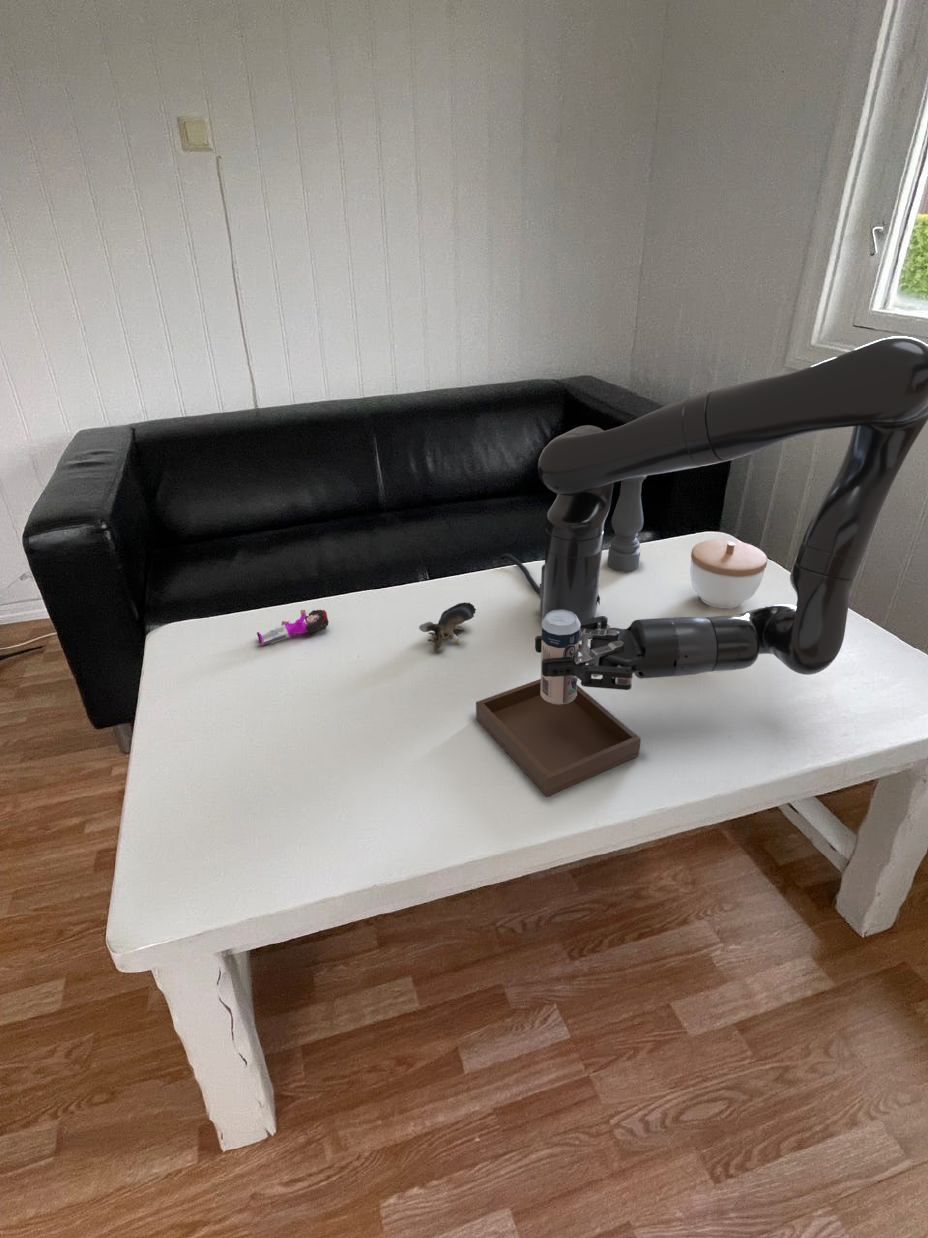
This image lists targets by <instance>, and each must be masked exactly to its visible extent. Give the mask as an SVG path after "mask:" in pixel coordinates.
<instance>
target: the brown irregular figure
mask: <svg viewBox="0 0 928 1238" xmlns="http://www.w3.org/2000/svg"><path fill="white" fill-rule="evenodd" d="M476 611H477V608H476V607H475V605H473V603H471V602H466V601H465V602H459V603H456V604H455V605H452V606H451V607H449V608H447V609H446V610H444V611H443V612H442V613H441V616H440V617H439V620H438V622H437V623H433V622H432V621H426V622H424V623H422V624H420V625H419V626H418V629H419V630H420V631H421V632H423V633H427V634H428V635H431V636H432V637H433V639H432V638H429V639H427V642H428V643H429V642H431V643H433V644H434V648H433V652H434V653H435V652H437V651H438V650H439V649H441V647H442V644H443V642H445V641H449V640H451V641H452V642H455V643H456V644H458V645H459V646H460V644H461V642H460V638H459V637H458V636H457V635H456V634H455V632H454V631H455V630H458V631H459V630H461V631H465V630H466V629H465V627H463V626H460V625H462V624H463V623H464V622H467V621H470V620H471V619H473V618H474V616H475V613H476Z"/></svg>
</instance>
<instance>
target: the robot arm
mask: <svg viewBox="0 0 928 1238" xmlns="http://www.w3.org/2000/svg"><path fill="white" fill-rule="evenodd" d="M927 423H928V344H926V343H925V342H923V341H921V340H919V339H916V338H913V337H908V336H891V337H887V338H882V339H879V340H875V341H873V342H870V343H868V344H865V345H862V346H860V347H858V348H855V349H853V350H849V351H847V352H845V353H842V354H840V355H838V356H834V357H832V358H829V359H827V360H824V361H822V362H819V363H816V364H814V365H810V366H809V367H806V368H805V367H804V368H802V369H800V370H796V371H794V372H790V373H785V374H781V375H776V376H771V377H766V378H761V379H756V380H751V381H747V382H742V383H739V384H735V385H731V386H726V387H722V388H718V389H714V390H711V391H707V392H704V393H700V394H697V395H694V396H690V397H687V398H684V399H681V400H678V401H675V402H672V403H670V404H668V405H665V406H662V407H660V408H658V409H656V410H653V411H651V412H648V413H646V414H644V415H642V416H640V417H638V418H636V419H633V420H631V421H629V422H627V423H625V424H623V425H620V426H616V427H614V428H610V429H607V430H604V429H602V428H601V427H598V426H595V425H589V424H587V425H586V424H585V425H581V426H577V427H575V428H573V429H571V430H569V431H567V432H565V433H563V434H560V435H558V436H556V437H555V438H553V439H552V440H551V441H549V442H548V444H547V445H546V446H545V447H544V448H543V450H542V452H541V453H540V455H539V458H538V462H537V473H538V477H539V479H540V481H541V483H542V484H543V485H544V486H545V487H546V488H547V489H548V490H550V491H551V492H552V493H555V494H556V498H555V499H554V501H553V503H552V505H551V506H550V508H549V509H548V511H547V514H546V521H545V523H546V524H545V526H546V527H545V549H544V551H545V552H544V564H542V566H541V573H540V574H541V575H540V577H541V578H540V581H541V582H540V583H539V585H538V584H537V582H536V581H535V579H534V578H533V577H532V575H531V573H530V571H529V569H528V568H527V567H526V566H525V565H524V564H523V563H522V562H521V561H520V560H519V559H518V558H516V557H514V555H512V554H510V553H503V554H501V555H499V557H498V559H500V560H504V559H507V560H510V561H511V562H512V563H513V564H515V566H516V567H518V568H519V569H520V570H521V571H522V572H523V574H524V576H525V578H526V579H527V581H528V583H529V584H530V586H531V587H532V588H533V590H534V591H535V592H536V593H538V595H539V599H540V603H539V604H540V605H539V614H540V615H541V622H542V621H543V619H544V618H545V616H546V614H547V613H549V612H551V611H553V610H567V611H571V612H573V613H574V614H575V615H576V616H577V618H578V620H579V621H580V624H581V626H580V634H579V642H581V643H579V652H578V653H580V654H581V655H578V657H575V658H574V660H573V659H572V657H564V658H549V659H543V660H542V669H541V668H540V672H541V671H542V674H543V676H545V677H548V676H550V677H558V676H573V677H574V678H577V680H580V685H581V687H585V688H597V689H609V690H610V689H611V690H620V691H621V690H622V691H623V690H624V691H629V690H631V689H632V685H633V676H635V677H636V678H638V679H641V680H642V679H643V680H644V679H657V678H670V677H671V678H672V677H684V676H685V677H687V676H694V675H700V674H703V673H704V674H705V673H712V672H713V673H714V672H729V671H738V670H744V669H745V670H746V669H747V668H749V667H752V666H753V665H754V664H755V663H756V662H757V660H758V657H759V655H766V654H768V655H773V656H775V657H776V659H778V660H779V661H780V662H781V663H782V664H783V665H784V666H786V667H787V668H788V669H790V670H791V671H793V672H794V673H797V674H800V675H806V676H808V675H815V674H818V673H821V672H822V671H824V670H826V669H827V668H828V667H829V666H830V665H831V664H832V663H833V662H834V661H835V660H836V658H837V657H838V655H839V653H840V652H841V648H842V646H843V644H844V643H843V642H844V638H845V633H846V626H847V620H848V619H847V618H848V613H849V612H848V611H849V603H850V601H849V600H850V592H851V588H852V585H853V584H854V581H855V579H856V576H857V575H858V572H859V569H860V567H861V565H862V562H863V559H864V558H865V557H864V556H865V554H866V552H867V549H868V547H869V544H870V542H871V539H872V536H873V533H874V531H875V529H876V526H877V524H878V521H879V518H880V515H881V513H882V510H883V508H884V505H885V503H886V501H887V499H888V496H889V494H890V491H891V489H892V486H893V484H894V482H895V480H896V478H897V476H898V474H899V472H900V470H901V469H902V466H903V464H904V462H905V460H906V459H907V456H908V455H909V453H910V451H911V449H912V447H913V446H914V444H915V442H916V440H917V439H918V437H919V436H920V433H922V431H923V429H924V428H925V426H926V424H927ZM850 427H853V428H852V433H851V435H850V439H849V443H848V446H847V449H846V452H845V454H844V457H843V459H842V461H841V464H840V466H839V468H838V470H837V473H836V474H835V476H834V478H833V480H832V482H831V484H830V485H829V487H828V489H827V491H826V492H825V494H824V496H823V497H822V499H821V500H820V502H819V504H818V506H817V508H816V509H815V511H814V513H813V515H812V517H811V519H810V521H809V523H808V526H807V528H806V530H805V533H804V535H803V537H802V540H801V543H800V546H799V549H798V551H797V554H796V556H795V559H794V562H793V564H792V567H791V571H790V573H789V574H790V576H789V583H790V585H791V586H792V588H793V590H794V593H795V594H796V597H797V598H796V605H795V604H789V603H778V604H777V603H776V604H771V605H765V606H763V607H759V608H754V609H750V610H748V611H745V612H741V613H739V614H736V615H716V616H715V615H714V616H702V617H701V616H674V617H657V618H643V619H642V618H641V619H635V620H633V621H632V622H631V623H630V625H629V626H628V627H627V628H619V627H611V625H609V624H608V621H609V618H608V617H607V616H605V615H602V616H600V615H599V616H597V611H598V605H600V604H601V603H600V602H601V597H600V595H599V591H600V589H599V588H600V579H601V568H602V567H601V566H602V557H603V556H602V555H603V553H602V552H603V544H604V543H603V540H604V532H605V531H604V530H605V524H606V520H607V517H608V515H609V512H610V509H611V506H612V498H613V492H614V491H613V490H614V484H615V483H616V482H621V480H624V479H628V478H633V477H639V476H646V477H648V476H654V475H660V474H667V473H672V472H673V473H674V472H679V471H684V470H691V469H695V468H701V467H707V466H711V465H716V464H722V463H725V462H729V461H734V460H736V459H737V460H738V459H740V458H741V459H742V458H744V457H747V456H749V455H753V454H756V453H758V452H760V451H763V450H766V449H769V448H770V447H773V446H775V445H777V444H779V443H782V442H785V441H786V440H787V441H788V440H789V439H792V438H794V437H799V436H802V435H806V434H810V433H815V432H822V431H829V430H835V429H841V428H842V429H843V428H850ZM589 640H590V644H589ZM541 646H542V634H540V635H537V636H535V638H534V649H535V652H536V653H539V654H541ZM592 677H593V678H592ZM598 677H601V678H598Z"/></svg>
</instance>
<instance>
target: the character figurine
mask: <svg viewBox="0 0 928 1238" xmlns="http://www.w3.org/2000/svg"><path fill="white" fill-rule="evenodd" d="M329 623H330V622H329V619H328V613H327V611H326V610H325V609H313V610H312V611H310V612H308V615H307V611H306V610H305V609H301V610H300V617H299V619H296V620H295V621H294V622H293V623H292V622H291V621H290V620H288V621H287V620H281V625H279V626H277V627H274V628H273V629H271V630H269V631H267V632H265V633H263V634H262V633H260V632H259V631H257V632H256V635H257V638H258V641H259V644H260V646H261V647H264V646H266V645H269V644H274V643H276V642H279V641H282V640H285V639H291V638H292V637H293V635H295V634H299V635H300V634H301V635H302V634H305V633H307V634H308V636H313V635H316V634H319V633H320V632H322V631H323V630H327V626H329Z"/></svg>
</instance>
